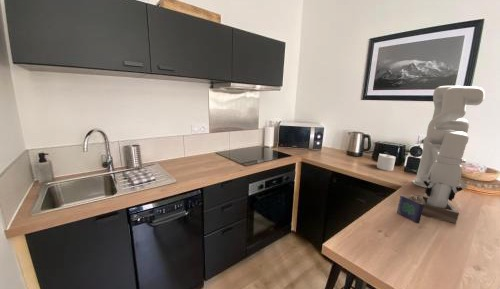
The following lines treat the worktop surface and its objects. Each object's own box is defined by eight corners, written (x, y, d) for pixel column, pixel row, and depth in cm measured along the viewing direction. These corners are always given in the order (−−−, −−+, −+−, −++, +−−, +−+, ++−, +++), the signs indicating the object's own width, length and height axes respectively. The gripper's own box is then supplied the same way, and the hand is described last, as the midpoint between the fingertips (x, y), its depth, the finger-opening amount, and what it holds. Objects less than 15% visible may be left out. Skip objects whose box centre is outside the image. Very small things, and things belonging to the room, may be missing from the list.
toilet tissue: (389, 172, 152) (392, 158, 150) (372, 167, 162) (374, 154, 159) (395, 169, 158) (398, 156, 156) (378, 164, 168) (380, 152, 165)
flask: (395, 212, 96) (400, 191, 94) (399, 211, 97) (404, 190, 95) (417, 224, 88) (423, 201, 86) (421, 222, 89) (427, 200, 87)
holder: (415, 203, 106) (417, 194, 105) (446, 210, 100) (448, 201, 99) (421, 215, 95) (423, 205, 94) (455, 223, 90) (459, 213, 89)
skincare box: (437, 204, 100) (443, 180, 97) (446, 209, 95) (453, 184, 92) (425, 204, 99) (431, 180, 96) (434, 209, 95) (441, 184, 92)
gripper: (471, 162, 91) (460, 199, 95) (422, 155, 99) (413, 189, 103) (480, 166, 85) (467, 206, 89) (426, 158, 93) (416, 195, 97)
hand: (438, 197), depth 96 cm, fingers closed on skincare box, 7 cm apart
